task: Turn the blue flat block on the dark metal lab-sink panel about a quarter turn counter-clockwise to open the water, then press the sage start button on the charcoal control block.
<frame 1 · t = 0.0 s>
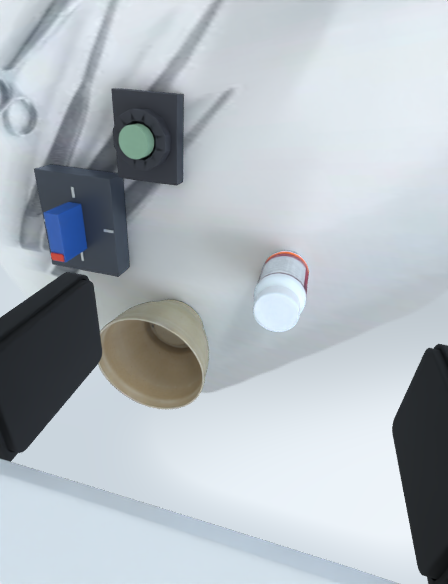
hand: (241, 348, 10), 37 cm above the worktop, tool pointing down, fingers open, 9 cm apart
blue flat block: (66, 232, 47), point 6 cm above the worktop, hinge at 0.0°
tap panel: (92, 218, 52), on the worktop
start button: (136, 141, 41), point 5 cm above the worktop, slide at 0.2 cm
planter bowl: (176, 323, 58), on the worktop
pill bottle: (286, 269, 49), on the worktop
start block: (153, 137, 45), on the worktop
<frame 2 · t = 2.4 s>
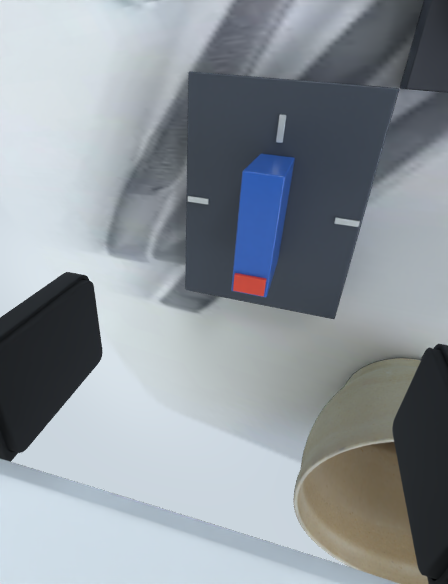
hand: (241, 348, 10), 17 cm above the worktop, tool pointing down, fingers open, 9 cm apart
blue flat block: (262, 224, 20), point 6 cm above the worktop, hinge at 0.0°
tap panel: (277, 195, 25), on the worktop
planter bowl: (398, 397, 31), on the worktop
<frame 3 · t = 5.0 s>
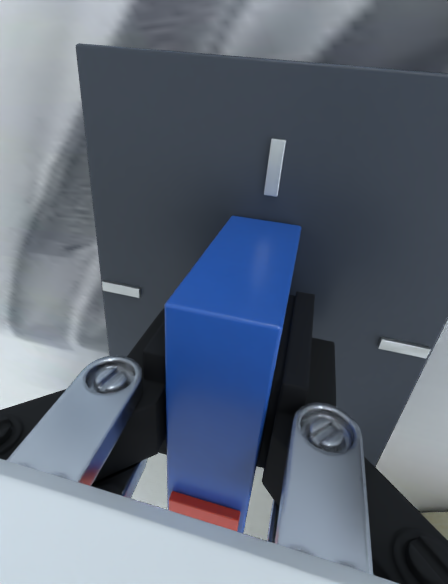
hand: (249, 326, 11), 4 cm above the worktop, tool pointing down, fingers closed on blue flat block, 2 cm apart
blue flat block: (235, 368, 9), point 6 cm above the worktop, hinge at 0.6°, touching gripper
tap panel: (268, 269, 15), on the worktop
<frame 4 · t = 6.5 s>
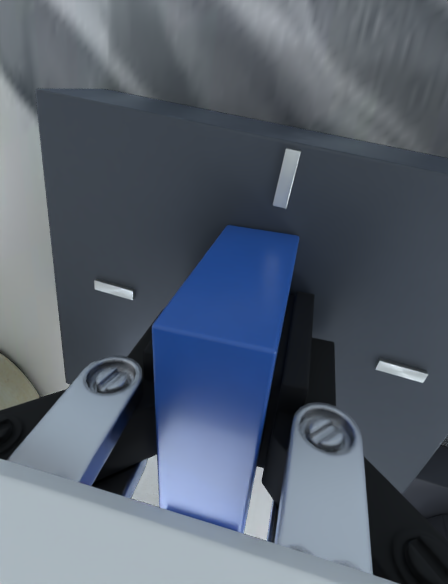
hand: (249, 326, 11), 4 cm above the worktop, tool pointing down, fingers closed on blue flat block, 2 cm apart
blue flat block: (230, 384, 9), point 6 cm above the worktop, hinge at 95.2°, touching gripper
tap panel: (266, 277, 14), on the worktop
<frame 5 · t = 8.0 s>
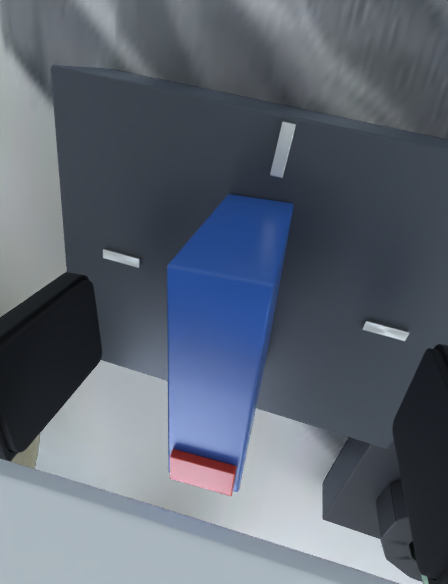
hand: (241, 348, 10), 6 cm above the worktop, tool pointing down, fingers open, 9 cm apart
blue flat block: (231, 337, 10), point 6 cm above the worktop, hinge at 95.4°
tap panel: (262, 250, 15), on the worktop
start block: (437, 472, 19), on the worktop
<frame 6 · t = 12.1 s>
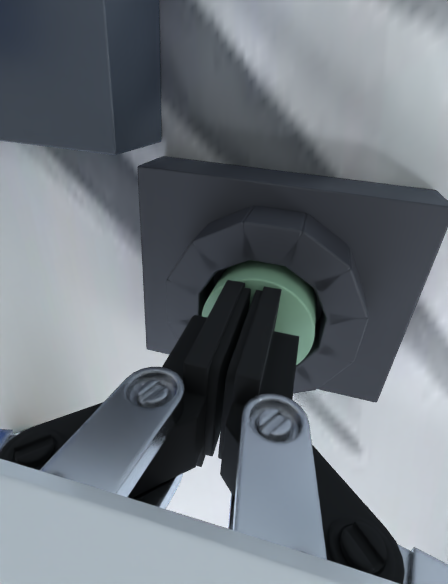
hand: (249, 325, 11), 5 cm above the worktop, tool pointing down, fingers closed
start button: (260, 315, 12), point 4 cm above the worktop, slide at -0.7 cm, touching gripper
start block: (274, 269, 15), on the worktop
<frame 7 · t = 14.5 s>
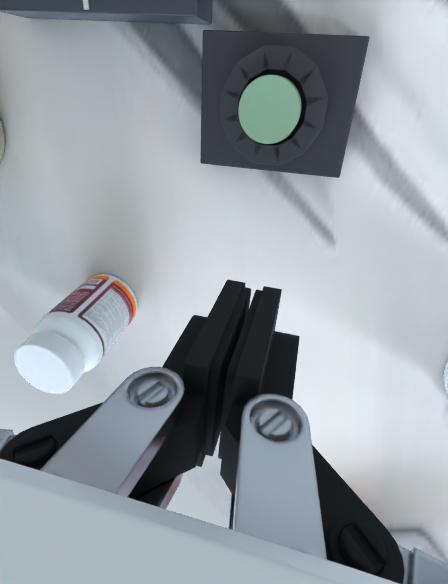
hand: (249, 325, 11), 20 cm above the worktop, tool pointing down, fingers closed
start button: (270, 109, 21), point 5 cm above the worktop, slide at 0.1 cm
pill bottle: (113, 297, 38), on the worktop
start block: (277, 106, 25), on the worktop
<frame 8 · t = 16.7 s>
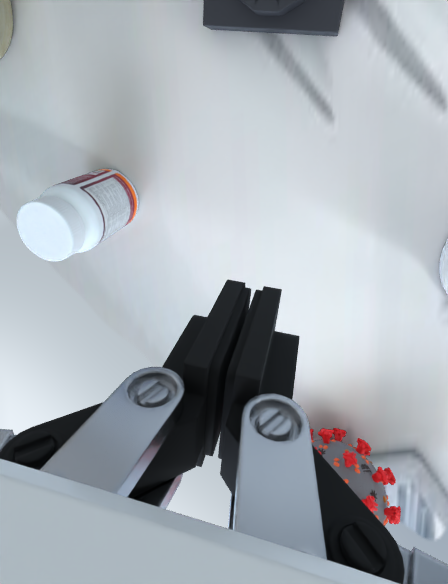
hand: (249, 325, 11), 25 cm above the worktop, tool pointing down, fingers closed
virus model: (330, 440, 48), on the worktop
pill bottle: (115, 196, 38), on the worktop
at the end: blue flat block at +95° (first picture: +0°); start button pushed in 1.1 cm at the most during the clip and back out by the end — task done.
